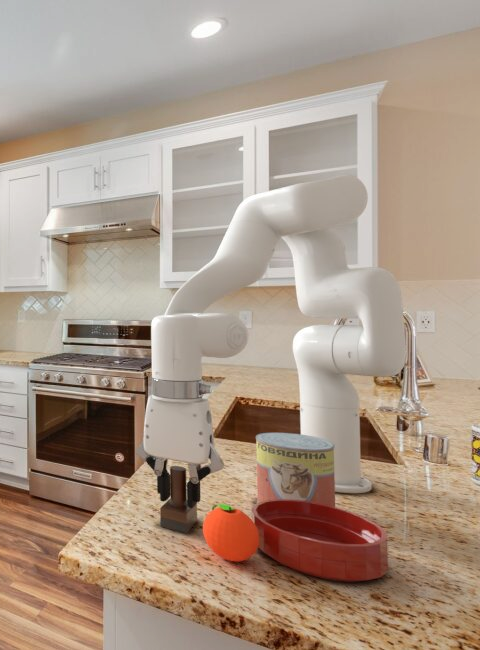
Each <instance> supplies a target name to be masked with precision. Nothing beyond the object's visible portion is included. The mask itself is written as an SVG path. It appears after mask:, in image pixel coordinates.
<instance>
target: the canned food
mask: <svg viewBox="0 0 480 650" xmlns="http://www.w3.org/2000/svg"><path fill="white" fill-rule="evenodd" d="M255 440H256V441H255V443H256V444H255V445H256V446H255V448H256V483H257V484H256V489H257V490H256V491H257V500H256V503H259V502H261V501H265V500H273V499H291V500H300V501H309V502H314V503H320V504H325V505H329V506H333V507H336V492H335V476H334V447H335V446H334V444H333V443H331V442H330V441H327V440H324V439H321V438H317V437H313V436H307V435H301V433H293V432H279V431H278V432H262V433H261V432H260V433H258V434H256V435H255Z"/></svg>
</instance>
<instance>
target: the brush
mask: <svg viewBox="0 0 480 650" xmlns="http://www.w3.org/2000/svg"><path fill="white" fill-rule="evenodd" d="M169 474H170V493H171V495H170V497H169V498H168V499H167V500H166V501H165V503H164V504H162V506H161V507H160V508H159V510H160V511H159V513H160V514H159V515H160V517H159V518H160V527H161V528H165V529H169V530H172V531H177V532H180V533H184V534H188V533H189V532H190V530H191V529H192V528H193V526H194V525H195V524H196V522H198V503H197V504H196V505H195V506H194V507H193V508H189V507H188V506H187V468H185V467H184V466H180V465H171V466H170V467H169Z"/></svg>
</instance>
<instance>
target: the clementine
mask: <svg viewBox="0 0 480 650" xmlns="http://www.w3.org/2000/svg"><path fill="white" fill-rule="evenodd" d="M202 533H203V537H204V540H205V543H206V544H207V546H208V547H209V548H210V549H211V551H212V552H213V553H215V554H216V555H217V556H219V557H220V558H222V559H224V560H226V561H231V562H243V561H247V560H250V559H251V558H252V556H254V555H255V554H256V553H257V550H258V549H259V548H258V545H259V533H258V530H257V528H256V526H255V524H254V522H253V521H252V518H250V516H249V515H247V514H246V513H244V512H243V511H242V510H241V509H238V508H235V507H232V506H231V505H228V504H224V503H222V504H220V503H219V504H213V506H212V508H211V510H210V511H209V512H208V513H207V514H206V515H205V518H204V520H203V524H202Z"/></svg>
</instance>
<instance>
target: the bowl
mask: <svg viewBox="0 0 480 650" xmlns="http://www.w3.org/2000/svg"><path fill="white" fill-rule="evenodd" d="M251 520H252V521H253V522H254V524H255V526H256V528H257V530H258V533H259V545H258V549H259V550H260V551H262V553H264V554H265V555H267V556H269V557H270V558H271V559H272V560H274V561H276V562H278V563H280V564H281V565H283V566H285V567H287V568H290V569H292V570H294V571H298V572H299V573H302V574H306V575H309V576H313V577H317V578H319V579H320V578H321V579H325V580H331V581H337V582H351V583H352V582H364V581H370V580H374V579H379V578H381V577H383V576H385V574H387V573H388V572H389V549H388V548H389V547H388V532H387V531H386V530H385V529H384V528H383V527H382V526H381V525H379V523H376V522H374V521H373V520H371V519H369V518H367V517H365V516H363V515H361V514H357V513H355V512H352V511H349V510H347V509H343V508H341V507H336V506H335V507H333V506H329V505H325V504H320V503H314V502H309V501H300V500H291V499H273V500H265V501H261V502H259V503H257V502H256V503H254V504H253V505H252V507H251Z"/></svg>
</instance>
